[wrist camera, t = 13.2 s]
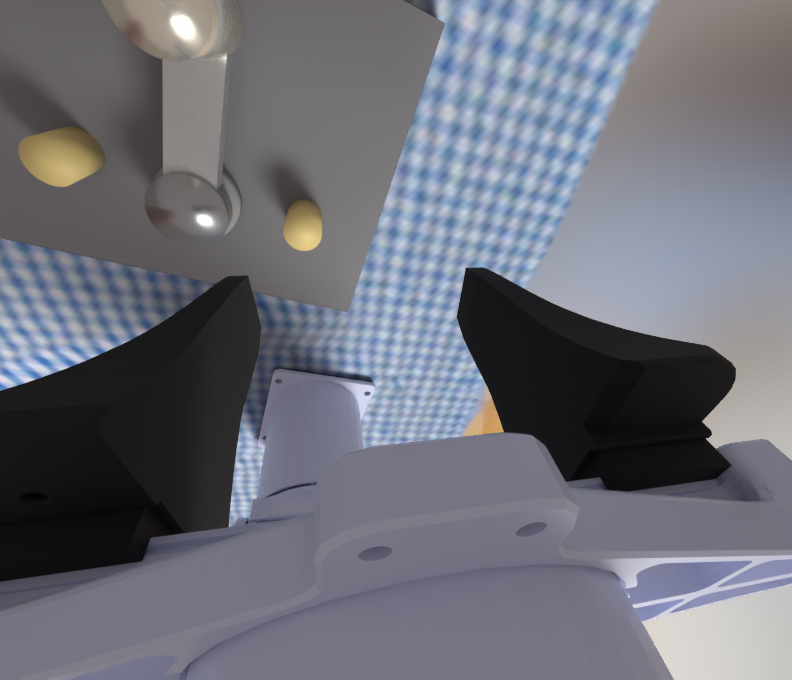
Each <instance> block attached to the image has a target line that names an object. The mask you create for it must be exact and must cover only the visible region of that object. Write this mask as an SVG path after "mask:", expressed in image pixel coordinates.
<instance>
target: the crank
mask: <svg viewBox="0 0 792 680" xmlns="http://www.w3.org/2000/svg"><path fill="white" fill-rule="evenodd" d="M102 2H103V5H104V7H105V8H106V10H107V12H108V14H109V15H110V17H111V18H112V20H113V21H114V23H115V24H116V25H117V27H118V28H119V29H120V30H121V31H122V33H123V34H124V35H125V36H126V37H127V38H128V39H129V40H130V41H132V42H133V43H134V44H135V45H136V46H138V47H139V48H140V49H142V50H143V51H145V52H147V53H148V54H150V55H152V56H155V57H157V58H160V59H162V62H163V174H162V175H161V176H159V177H158V178H157V179H155V180H154V181H153V182H152V183H151V184H150V185H149V186H148V188H147V190H146V192H145V197H144V205H145V210H146V213H147V216H148V218H149V219H150V221H151V223H152V224H153V226H154V227H155V228H156V229H157V230H158V231H159V232H160V233H161V234H162V235H163V236H164V237H166V238H167V239H169V240H170V241H172V242H174V243H176V244H178V245H181V246H184V247H188V248H206V247H210V246H212V245H214V244H216V243H217V242H218V241H219V240H220V239H221V238H222V237H223V235H224V234H225V232H226V230H227V228H228V227H229V225H230V223H231V220H232V216H233V207H232V202H231V200H230V197H229V195H228V193H227V192H226V190H225V189H224V187H223V186H222V185H221V183H222V172H223V160H224V149H225V137H226V125H227V114H228V102H229V91H230V79H231V68H232V56H233V54H234V53H235V52H236V50H237V49H238V48H239V46H240V44H241V41H242V38H243V33H244V18H243V12H242V8H241V5H240V2H239V0H102Z"/></svg>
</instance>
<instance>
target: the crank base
mask: <svg viewBox="0 0 792 680" xmlns="http://www.w3.org/2000/svg"><path fill="white" fill-rule="evenodd" d="M239 2H240V5H241V8H242V12H243V18H244V33H243V38H242V41H241V44H240V46H239V48H238V49H237V50H236V52H235V53H234V54H233V56H232V68H231V79H230V91H229V102H228V114H227V125H226V137H225V149H224V160H223V172H222V183H221V185H222V186H223V187H224V189H225V190H226V192H227V193H228V195H229V197H230V200H231V202H232V207H233V216H232V220H231V223H230V225H229V227H228V228H227V230H226V232H225V234H224V235H223V237H222V238H221V239H220V240H219V241H218V242H217V243H216V244H214V245H212V246H210V247H206V248H188V247H184V246H181V245H178V244H176V243H174V242H172V241H170V240H169V239H167V238H166V237H164V236H163V235H162V234H161V233H160V232H159V231H158V230H157V229H156V228H155V227H154V226H153V224H152V223H151V221H150V219H149V218H148V216H147V213H146V210H145V205H144V197H145V192H146V190H147V188H148V186H149V185H150V184H151V183H152V182H153V181H154V180H155V179H157V178H158V177H159V176H161V175H162V174H163V62H162V59H160V58H157V57H155V56H152V55H150V54H148V53H147V52H145V51H143V50H142V49H140V48H139V47H138V46H136V45H135V44H134V43H133V42H132V41H130V40H129V39H128V38H127V37H126V36H125V35H124V34H123V33H122V31H121V30H120V29H119V28H118V27H117V25H116V24H115V23H114V21H113V20H112V18H111V17H110V15H109V14H108V12H107V10H106V8H105V7H104V5H103V2H102V0H0V238H3V239H8V240H12V241H17V242H22V243H26V244H31V245H36V246H40V247H45V248H50V249H54V250H59V251H64V252H68V253H73V254H78V255H83V256H87V257H92V258H97V259H101V260H106V261H111V262H115V263H120V264H125V265H129V266H134V267H139V268H143V269H148V270H153V271H157V272H162V273H167V274H171V275H176V276H181V277H185V278H190V279H195V280H199V281H204V282H209V283H213V284H217V283H218V282H219V281H221V280H222V279H224V278H225V277H227V276H244V275H248V277H249V281H250V285H251V289H252V292H256V293H260V294H265V295H270V296H274V297H279V298H284V299H288V300H293V301H298V302H302V303H307V304H312V305H316V306H321V307H326V308H330V309H335V310H340V311H344V312H348V309H349V306H350V303H351V300H352V297H353V295H354V292H355V289H356V286H357V283H358V280H359V277H360V274H361V271H362V268H363V265H364V262H365V259H366V256H367V253H368V250H369V247H370V244H371V241H372V238H373V235H374V232H375V229H376V226H377V223H378V220H379V217H380V214H381V211H382V208H383V206H384V203H385V200H386V197H387V194H388V191H389V188H390V185H391V182H392V179H393V176H394V173H395V170H396V167H397V164H398V161H399V158H400V155H401V152H402V149H403V146H404V143H405V140H406V137H407V134H408V131H409V128H410V125H411V122H412V119H413V117H414V114H415V111H416V108H417V105H418V102H419V99H420V96H421V93H422V90H423V87H424V84H425V81H426V78H427V75H428V72H429V69H430V66H431V63H432V60H433V57H434V54H435V51H436V48H437V45H438V42H439V39H440V36H441V33H442V30H443V27H444V25H445V23H444V22H442V21H440V20H438V19H436V18H435V17H433V16H431V15H429V14H427V13H426V12H424V11H422V10H420V9H418V8H417V7H415V6H413V5H411V4H409V3H408V2H406V1H404V0H239Z"/></svg>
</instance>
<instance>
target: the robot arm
mask: <svg viewBox="0 0 792 680" xmlns="http://www.w3.org/2000/svg"><path fill="white" fill-rule="evenodd" d="M457 319H458V322H459V326H460V329H461V332H462V335H463V338H464V340H465V343H466V345H467V347H468V349H469V351H470V353H471V355H472V357H473V359H474V361H475V363H476V365H477V367H478V369H479V371H480V373H481V375H482V377H483V379H484V381H485V383H486V385H487V387H488V389H489V392H490V394H491V396H492V399H493V402H494V404H495V407H496V410H497V413H498V415H499V418H500V421H501V424H502V427H503V430H504V432H501V433H492V434H483V435H474V436H464V437H455V438H446V439H437V440H428V441H418V442H409V443H400V444H391V445H382V446H373V447H369V448H366V449H364V448H363V438H362V428H361V419H362V417H363V415H364V412H365V410H366V408H367V406H368V404H369V402H370V399H371V397H372V395H373V393H374V391H375V385H374V384H373V383H372V382H366V381H359V380H352V379H346V378H339V377H332V376H325V375H319V374H312V373H305V372H298V371H292V370H285V369H276V370H275V371H274V372H273V376H272V380H271V385H270V389H269V394H268V399H267V403H266V408H265V412H264V417H263V422H262V426H261V431H260V436H259V440H258V446H259V447H261V448H265V451H264V457H263V464H262V470H261V477H260V483H259V490H258V496H257V499H254V500H253V502H252V508H251V515H250V522H249V518H238V519H237V520H236V521H235V523H234V524H233V525H232V526H231V527H228V526H229V513H230V503H231V493H232V482H233V473H234V465H235V457H236V449H237V442H238V435H239V428H240V421H241V416H242V412H243V407H244V404H245V400H246V396H247V393H248V389H249V385H250V382H251V378H252V375H253V371H254V367H255V363H256V360H257V356H258V351H259V343H260V333H261V325H260V321H259V317H258V313H257V309H256V305H255V301H254V297H253V293H252V289H251V285H250V281H249V277H248V275H244V276H227V277H225V278H224V279H222V280H221V281H219V282H218V283H217V284H215V285H214V286H213V287H211V288H210V289H209V290H207V291H206V292H205V293H203V294H202V295H201V296H199V297H198V298H197V299H195V300H194V301H193V302H191V303H190V304H189V305H187V306H186V307H184V308H183V309H181V310H180V311H178V312H177V313H175V314H174V315H172V316H171V317H169V318H168V319H166V320H165V321H163V322H162V323H160V324H159V325H157V326H155V327H154V328H152V329H150V330H149V331H147V332H145V333H143V334H141V335H139V336H138V337H136V338H134V339H132V340H130V341H128V342H126V343H124V344H122V345H120V346H118V347H116V348H113V349H111V350H109V351H107V352H105V353H102V354H100V355H98V356H96V357H94V358H91V359H89V360H87V361H84V362H82V363H79V364H77V365H74V366H72V367H69V368H67V369H64V370H62V371H59V372H56V373H53V374H50V375H48V376H45V377H42V378H39V379H36V380H33V381H30V382H28V383H25V384H21V385H18V386H15V387H12V388H8V389H5V390H2V391H0V680H674V679H673V677H672V675H671V674H670V672H669V670H668V668H667V666H666V665H665V663H664V661H663V659H662V658H661V656H660V654H659V652H658V650H657V648H656V647H655V645H654V643H653V641H652V639H651V638H650V636H649V634H648V632H647V630H646V629H645V627H644V625H643V623H642V622H645V621H649V620H653V619H657V618H660V617H664V616H668V615H672V614H675V613H679V612H683V611H687V610H691V609H694V608H698V607H702V606H706V605H710V604H714V603H718V602H722V601H725V600H730V599H733V598H738V597H742V596H747V595H751V594H755V593H759V592H763V591H768V590H773V589H778V588H782V587H787V586H791V585H792V461H791V460H790V459H789V458H788V457H787V456H786V455H784V454H783V453H782V452H781V451H780V450H779V449H777V448H776V447H775V446H774V445H773V444H772V443H771V442H769V441H768V440H764V439H760V440H751V441H743V442H735V443H730V444H726V445H723V446H721V447H719V448H717V449H715V448H714V447H713V446H712V445H711V444H710V443H709V442H708V441H707V440H706V439H705V438H709V437H710V436H711V435H712V433H711V430H710V429H709V428H708V427H707V426H706V425H705V424H703V422H702V421H703V420H704V418H705V417H706V416H707V415H708V414H709V413H710V412H711V411H712V410H713V409H714V408H715V407H716V406H717V405H718V404H719V402H720V401H721V400H722V399H723V398H724V397H725V396H726V395H727V393H728V392H729V391H730V389H731V388H732V386H733V384H734V381H735V377H736V368H735V367H734V366H733V364H732V363H731V362H730V361H728V360H727V359H726V358H724V357H723V356H722V355H720V354H719V353H718V352H717V351H715V350H714V349H712V348H710V347H708V346H706V345H700V344H694V343H688V342H683V341H677V340H671V339H665V338H660V337H656V336H651V335H646V334H643V333H638V332H634V331H630V330H626V329H622V328H618V327H615V326H612V325H609V324H606V323H602V322H599V321H596V320H593V319H590V318H587V317H584V316H582V315H579V314H577V313H574V312H572V311H569V310H567V309H564V308H562V307H559V306H557V305H555V304H553V303H551V302H549V301H546V300H545V299H543V298H541V297H538V296H537V295H535V294H533V293H531V292H529V291H527V290H525V289H523V288H522V287H520V286H518V285H516V284H514V283H513V282H511V281H509V280H507V279H505V278H504V277H502V276H500V275H498V274H496V273H494V272H492V271H490V270H488V269H486V268H483V267H482V268H466V271H465V276H464V281H463V287H462V292H461V297H460V303H459V308H458V313H457ZM277 379H280V380H277Z"/></svg>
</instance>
